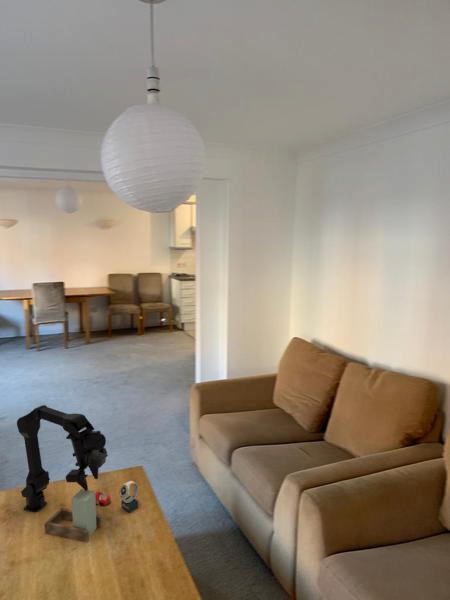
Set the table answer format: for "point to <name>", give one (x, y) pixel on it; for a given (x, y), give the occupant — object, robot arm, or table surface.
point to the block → (84, 510)
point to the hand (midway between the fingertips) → (91, 484)
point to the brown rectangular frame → (67, 531)
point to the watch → (129, 502)
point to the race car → (101, 498)
